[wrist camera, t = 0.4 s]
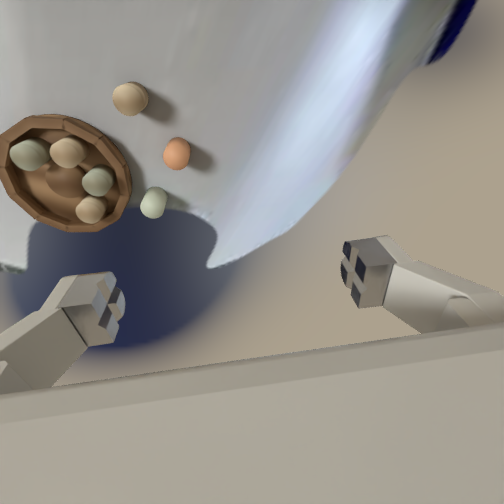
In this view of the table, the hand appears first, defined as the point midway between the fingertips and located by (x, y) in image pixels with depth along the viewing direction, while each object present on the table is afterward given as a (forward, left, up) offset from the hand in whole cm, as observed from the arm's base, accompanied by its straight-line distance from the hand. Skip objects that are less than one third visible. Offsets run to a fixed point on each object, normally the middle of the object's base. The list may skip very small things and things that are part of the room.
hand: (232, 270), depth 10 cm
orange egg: (+8, -7, -45) cm, 46 cm away
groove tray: (+13, -26, -45) cm, 53 cm away
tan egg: (0, -13, -45) cm, 46 cm away
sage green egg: (+17, -12, -45) cm, 49 cm away
